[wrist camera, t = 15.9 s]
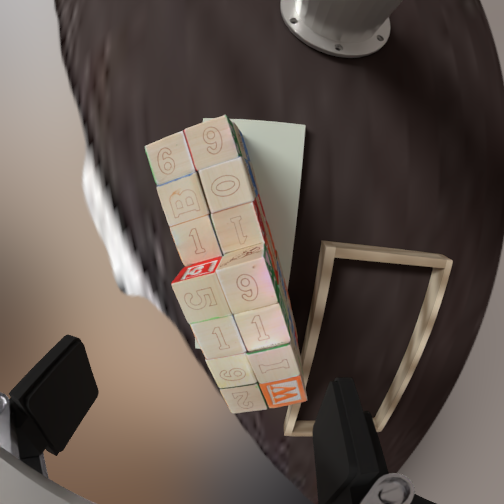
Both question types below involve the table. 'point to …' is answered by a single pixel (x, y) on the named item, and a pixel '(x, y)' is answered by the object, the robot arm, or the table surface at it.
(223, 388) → the stack of blocks
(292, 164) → the sage mat
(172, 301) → the table surface
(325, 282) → the beige open rectangular frame
